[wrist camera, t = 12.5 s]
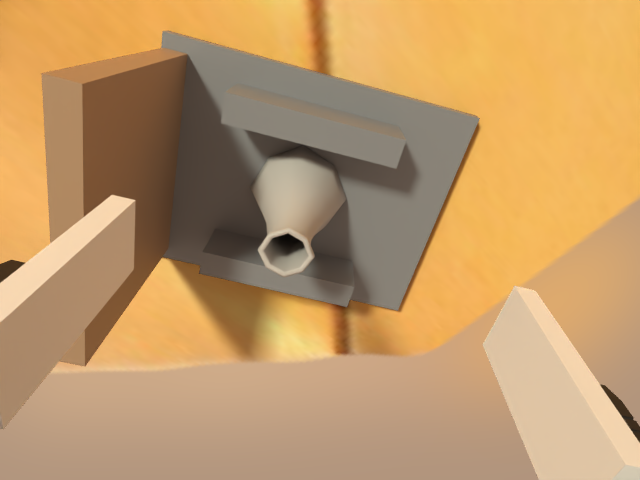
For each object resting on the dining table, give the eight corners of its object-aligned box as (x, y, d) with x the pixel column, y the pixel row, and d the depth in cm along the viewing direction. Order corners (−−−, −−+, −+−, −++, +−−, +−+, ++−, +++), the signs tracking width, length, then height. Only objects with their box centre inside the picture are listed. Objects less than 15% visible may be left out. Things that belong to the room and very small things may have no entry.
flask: (361, 199, 34) (371, 264, 26) (292, 247, 37) (279, 321, 28) (305, 127, 32) (294, 172, 23) (234, 183, 34) (199, 243, 25)
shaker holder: (475, 115, 32) (574, 188, 19) (396, 304, 40) (426, 446, 27) (167, 30, 30) (35, 45, 17) (151, 247, 38) (53, 372, 25)
